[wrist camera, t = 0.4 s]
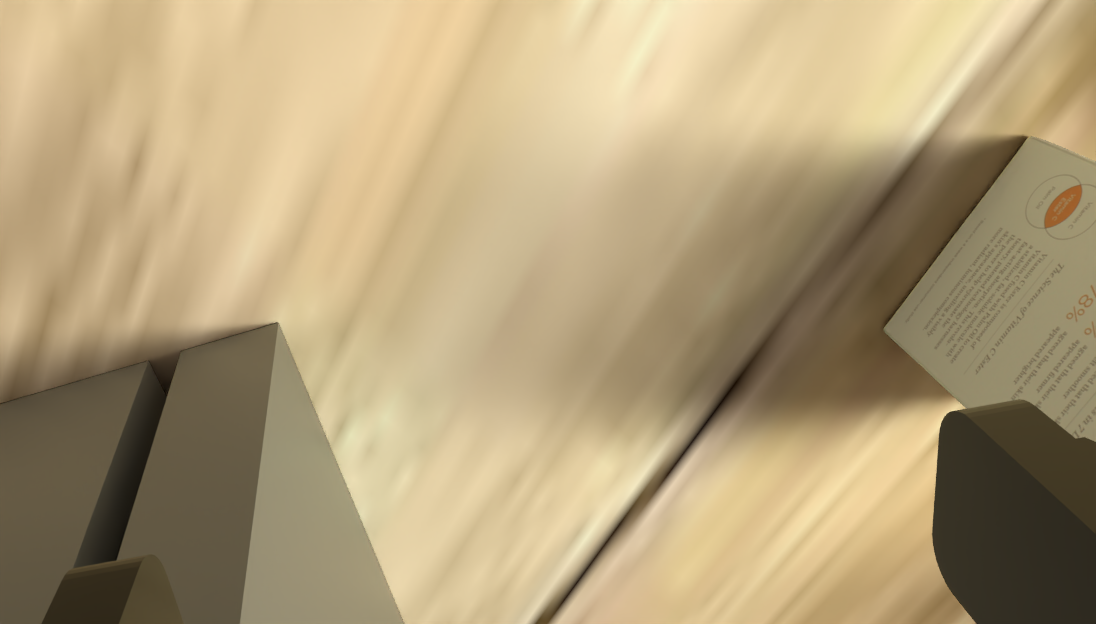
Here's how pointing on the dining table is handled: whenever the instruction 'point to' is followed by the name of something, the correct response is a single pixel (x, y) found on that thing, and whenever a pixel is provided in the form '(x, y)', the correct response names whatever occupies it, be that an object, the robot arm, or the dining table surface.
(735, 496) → the dining table surface
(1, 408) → the keypad console
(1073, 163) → the small box
